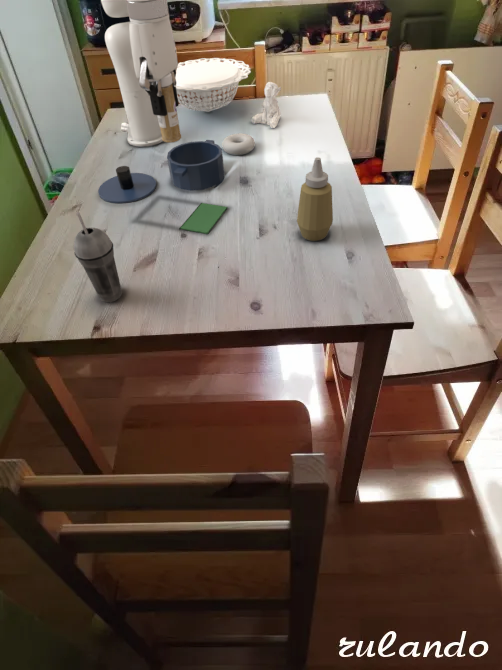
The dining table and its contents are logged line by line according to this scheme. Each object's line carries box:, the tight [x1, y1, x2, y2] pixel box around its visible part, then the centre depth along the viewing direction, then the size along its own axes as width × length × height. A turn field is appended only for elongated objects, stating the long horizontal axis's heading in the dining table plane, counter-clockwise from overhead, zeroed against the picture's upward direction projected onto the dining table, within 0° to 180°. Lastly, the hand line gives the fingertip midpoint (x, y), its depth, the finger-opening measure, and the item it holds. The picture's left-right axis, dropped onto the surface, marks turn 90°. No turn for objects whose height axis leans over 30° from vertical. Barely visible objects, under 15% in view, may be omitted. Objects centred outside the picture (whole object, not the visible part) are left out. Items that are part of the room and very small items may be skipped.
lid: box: [97, 165, 157, 204], centre depth 124 cm, size 16×16×6 cm
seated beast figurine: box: [251, 81, 282, 129], centre depth 149 cm, size 10×9×12 cm
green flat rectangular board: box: [178, 202, 228, 235], centre depth 115 cm, size 20×12×1 cm, turn 69°
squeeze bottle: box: [296, 156, 334, 242], centre depth 100 cm, size 8×8×18 cm
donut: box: [221, 132, 256, 156], centre depth 138 cm, size 10×3×10 cm
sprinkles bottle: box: [151, 73, 182, 143], centre depth 100 cm, size 5×5×14 cm
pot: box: [166, 139, 226, 192], centre depth 125 cm, size 15×20×7 cm
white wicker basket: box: [175, 57, 252, 113], centre depth 157 cm, size 32×32×13 cm
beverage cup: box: [73, 211, 123, 303], centre depth 88 cm, size 7×7×20 cm
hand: (166, 109), depth 100 cm, fingers closed on sprinkles bottle, 4 cm apart
